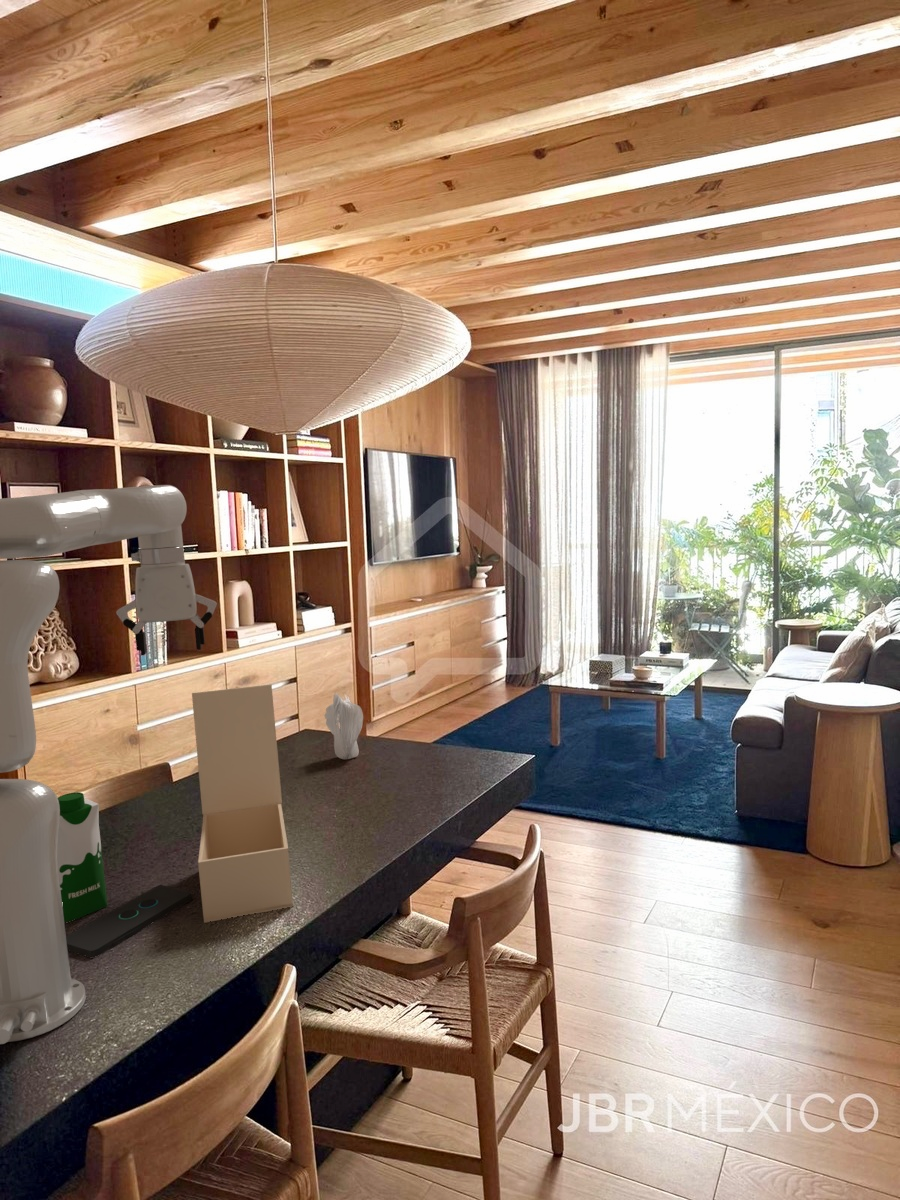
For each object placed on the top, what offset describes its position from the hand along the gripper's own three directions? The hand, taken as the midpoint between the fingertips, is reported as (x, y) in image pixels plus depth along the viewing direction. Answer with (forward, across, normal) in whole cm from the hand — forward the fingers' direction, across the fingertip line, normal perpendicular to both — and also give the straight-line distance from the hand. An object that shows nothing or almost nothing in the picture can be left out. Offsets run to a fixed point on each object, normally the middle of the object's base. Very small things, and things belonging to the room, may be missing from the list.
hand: (171, 651), depth 148 cm
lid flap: (+19, +10, -2) cm, 22 cm away
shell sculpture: (+40, +36, +54) cm, 76 cm away
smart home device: (+41, -9, -20) cm, 46 cm away
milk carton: (+40, -18, -12) cm, 46 cm away
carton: (+40, +10, -14) cm, 44 cm away
